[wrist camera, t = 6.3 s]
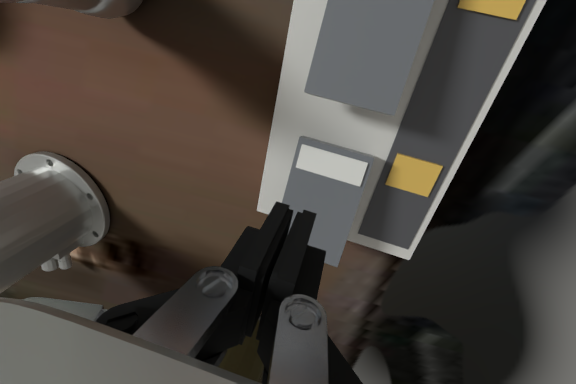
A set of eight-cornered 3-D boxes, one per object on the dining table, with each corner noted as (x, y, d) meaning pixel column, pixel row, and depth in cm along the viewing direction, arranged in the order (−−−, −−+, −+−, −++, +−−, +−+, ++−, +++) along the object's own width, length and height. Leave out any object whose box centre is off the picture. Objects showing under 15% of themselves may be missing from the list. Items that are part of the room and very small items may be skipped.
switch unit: (405, 232, 28) (410, 268, 24) (271, 190, 30) (252, 216, 25) (677, -322, 13) (823, -497, 9) (375, -342, 15) (373, -495, 10)
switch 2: (338, 257, 23) (337, 268, 22) (275, 236, 24) (270, 245, 22) (373, 155, 21) (374, 158, 19) (303, 135, 22) (299, 136, 20)
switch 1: (390, 115, 18) (394, 115, 16) (308, 94, 18) (303, 91, 17) (445, -42, 16) (456, -62, 14) (348, -61, 16) (348, -81, 15)
